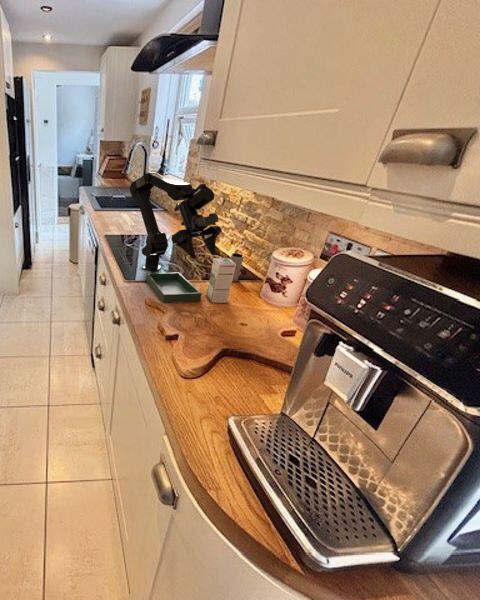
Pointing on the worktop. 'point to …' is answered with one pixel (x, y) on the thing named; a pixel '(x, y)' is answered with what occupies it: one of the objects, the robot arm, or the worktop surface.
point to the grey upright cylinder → (237, 264)
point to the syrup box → (220, 280)
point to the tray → (172, 287)
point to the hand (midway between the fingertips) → (204, 256)
